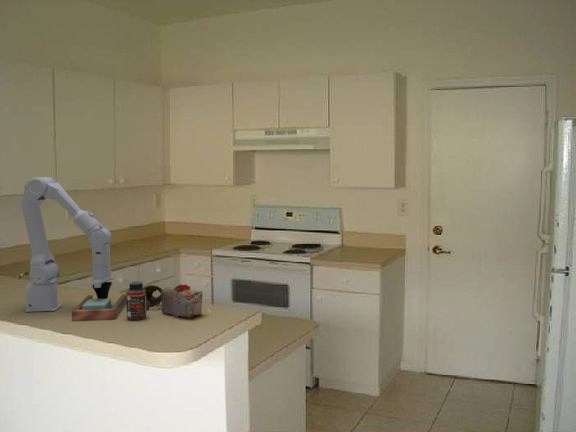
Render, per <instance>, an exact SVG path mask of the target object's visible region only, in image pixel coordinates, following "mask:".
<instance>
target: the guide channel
mask: <svg viewBox="0 0 576 432" xmlns="http://www.w3.org/2000/svg"><path fill="white" fill-rule="evenodd" d="M89 299H94V297H93V295H92V294H91V295H89V294H88V295H87V296H86V297H85V298H84V299H82V301H81V302H80V303H78V305H76V307H74V309H72V311H71V321H72V322H77V321H106V320H116V319H117V318H118V316H119V314H121V311H122V310H123V309H124V308H125V306H127V296H126V293H122V294H121V295H120V297H119V298H118V299H117V300H116V302H114V304H113V306H111V309H91V310H82V306H83V305H84V304H85V303H86V302H87V301H88V300H89Z"/></svg>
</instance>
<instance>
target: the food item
mask: <svg viewBox="0 0 576 432" xmlns="http://www.w3.org/2000/svg"><path fill="white" fill-rule="evenodd" d="M161 292H162V302H161V313H162V314H163V315H164V314H165V315H166V314H167V315H171V316H173V317H174V318H179V316H181V317H182V318H185V317H187V318H186V319H191V317H192V318H195V317H194V316H196V317H199V316H202V315H203V314H202V308H203V291H201V290H195V289H191V286H190V285H188V284H182V283H180V284H179V285H177V286H169V287H165V288H163V289H162V291H161ZM198 315H199V316H198Z"/></svg>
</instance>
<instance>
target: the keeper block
mask: <svg viewBox="0 0 576 432" xmlns="http://www.w3.org/2000/svg"><path fill="white" fill-rule="evenodd" d="M111 308H112V298H108V299H98V298H93V299H89V300H88V301H87V302H86V303H85V304H84V305H83V306H82V310H91V309H111Z"/></svg>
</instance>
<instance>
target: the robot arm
mask: <svg viewBox="0 0 576 432" xmlns="http://www.w3.org/2000/svg"><path fill="white" fill-rule="evenodd" d="M23 188H24V191H23V195H22V197H21V201H20V205H21V206H20V207H21V209H22V210H21V211H22V213H23V214H22V215H23V219H24V223H25V228H26V232H27V233H26V234H27V236H28V237H27V238H28V241H29V245H30V251H31V255H32V257H31V260H30V262H29V267H30V268H29V273H28V274H29V278H30V280H31V281H32V282H31V283H30V282H29V283H27V284H26V286H25V308H26V309H25V312H26V313H27V312H28V313H29V312H57V310H58V309H59V308H60V307H61V306H62V305H63V304H62V303H59V300H58V297H59V296H58V282H57V281H58V279H57V276H58V275H59V274H60V267H59V264H58V263H57V262H56V260H55V257H54V255H53V254H52V253H51V252H50V248H49V242H48V239H47V234H46V230H45V225H44V220H43V215H42V211H41V206H42V204H43V203H44V201H46V200H47V199H49V200H53V201H56V202H57V203H58V204H59V205H61V206H62V208H64V210H65V211H66V212H67V213H68V214H70V215H71V216H72V217H73V224H74V225H76V226H77V228H79V230H80V231H82V233H83V234H84V235H85V236H86V237H88V243H89V244H90V245H91V259H92V262H91V264H92V279H91V280H92V282H93V284H92V285H91V287H92V289H93V291H94V292H95V295H96V299H109V292H110V289H111V288H112V287H111V286H112V284H113V282H112V281H111V280H115V278H116V277H115V276H112V274H111V273H112V272H111V270H112V269H111V266H112V265H111V249H110V247H111V246H110V242H111V241H112V237H113V236H112V232H111V230H110V229H109V228H108V227H105V226H104V225H103V223H100V222H99V221H98V220H97V219H95V217H94V213H93V212H90V211H88V210H82V209H81V207H80V206H78V204H77V203H76V202H75V201H74V200H73V199H72V198H71V196H70V195H69V194H68V193H67V192H66V191H65V189H64V188H63V187H62V185H61V184H60V183H59V182H57V181H56V180H55V178H54V177H51V176H50V175H49V176H40V177H39V176H35V177H31V178H29V180H27V182H26V183H25V184H24V185H23Z"/></svg>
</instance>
